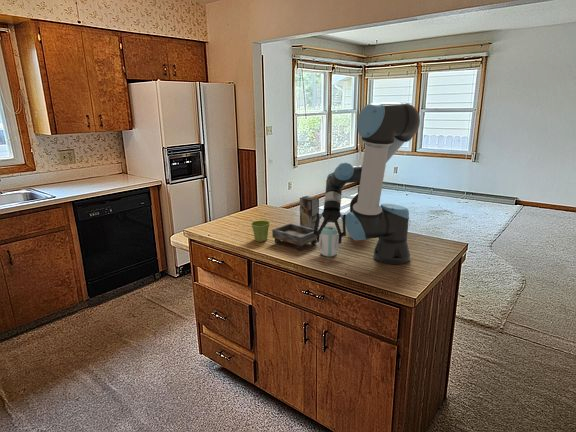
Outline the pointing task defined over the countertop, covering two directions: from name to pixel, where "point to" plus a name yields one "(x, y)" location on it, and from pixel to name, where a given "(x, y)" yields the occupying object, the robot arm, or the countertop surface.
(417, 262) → the countertop surface
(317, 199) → the coffee box
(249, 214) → the countertop surface
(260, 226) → the plant pot
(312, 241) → the grey rectangular tray
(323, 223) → the robot arm
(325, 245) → the can
